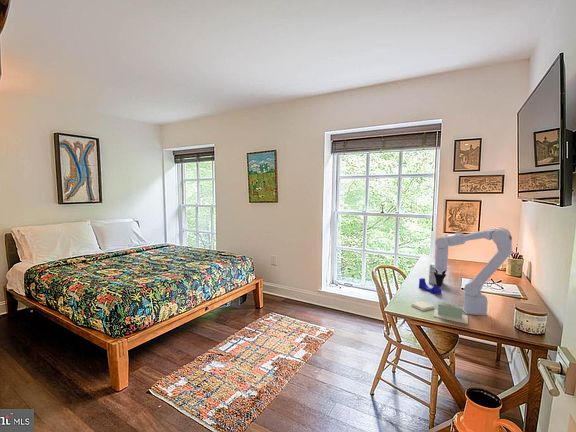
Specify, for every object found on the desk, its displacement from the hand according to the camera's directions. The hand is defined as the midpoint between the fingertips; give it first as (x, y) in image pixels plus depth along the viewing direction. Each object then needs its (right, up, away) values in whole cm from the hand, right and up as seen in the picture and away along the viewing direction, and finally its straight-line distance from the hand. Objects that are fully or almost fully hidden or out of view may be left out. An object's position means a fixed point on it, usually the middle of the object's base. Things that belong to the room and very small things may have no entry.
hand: (439, 284), depth 155 cm
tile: (-7, -10, -3) cm, 13 cm away
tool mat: (-3, -12, -15) cm, 20 cm away
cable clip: (+4, -9, +20) cm, 22 cm away
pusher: (-3, -12, -15) cm, 19 cm away
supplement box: (+15, -7, +33) cm, 37 cm away
